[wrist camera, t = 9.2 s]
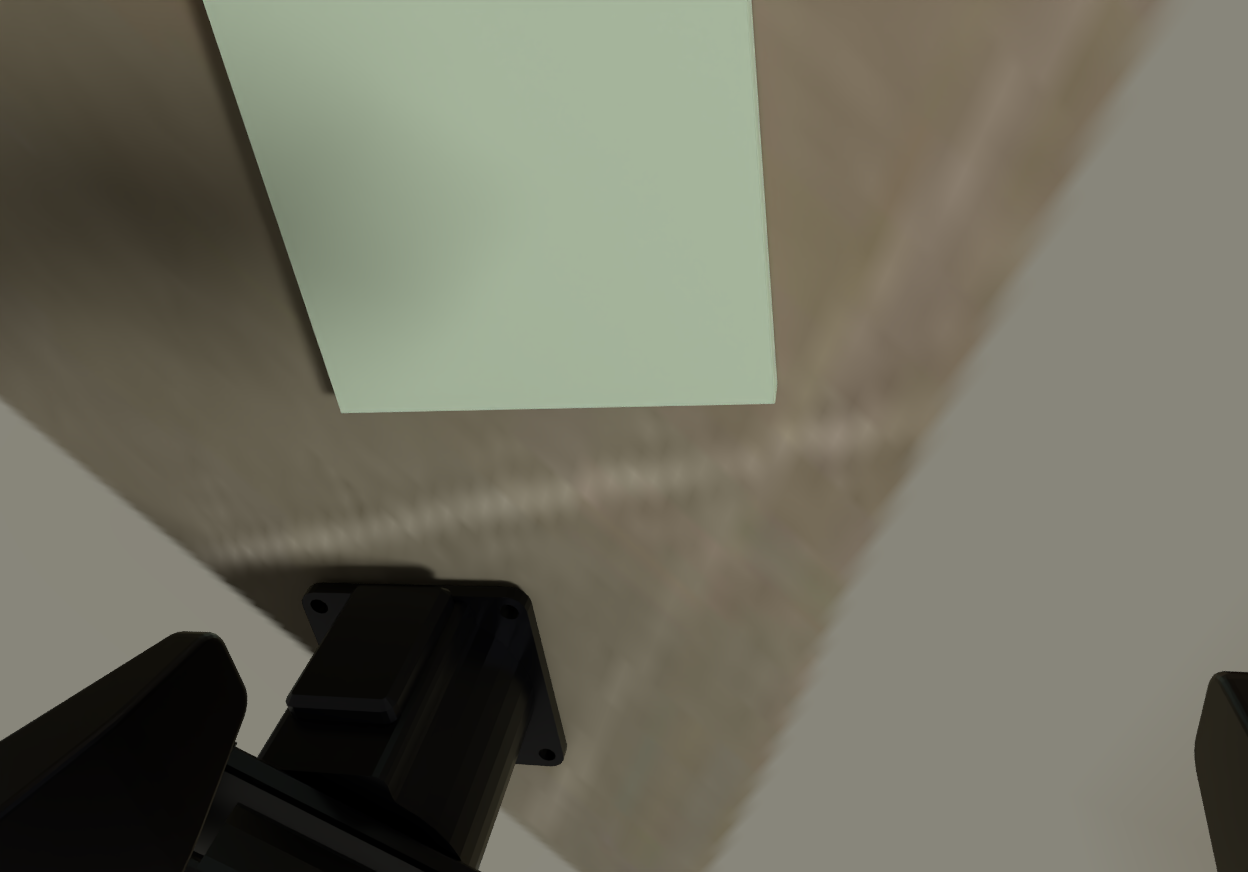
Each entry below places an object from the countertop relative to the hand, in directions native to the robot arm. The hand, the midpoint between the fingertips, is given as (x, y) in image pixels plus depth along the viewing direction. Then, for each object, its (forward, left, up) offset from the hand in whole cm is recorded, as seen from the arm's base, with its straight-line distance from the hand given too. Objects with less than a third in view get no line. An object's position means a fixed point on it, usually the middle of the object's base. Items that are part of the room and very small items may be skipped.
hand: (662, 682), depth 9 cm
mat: (+1, +5, -12) cm, 14 cm away
